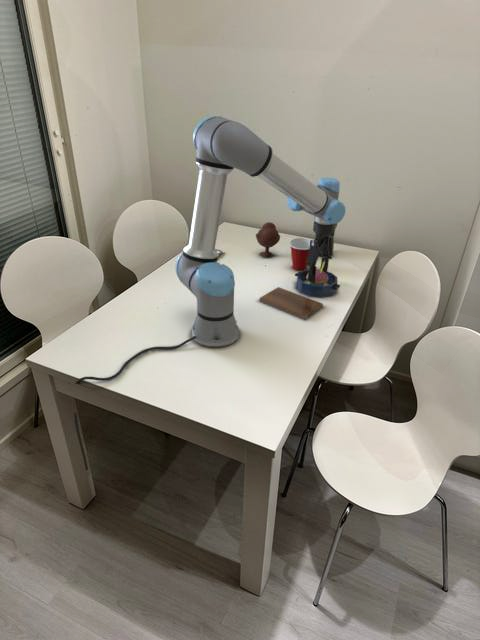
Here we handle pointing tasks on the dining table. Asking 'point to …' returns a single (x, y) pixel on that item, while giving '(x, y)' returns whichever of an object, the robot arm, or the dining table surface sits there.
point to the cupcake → (319, 277)
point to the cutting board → (291, 303)
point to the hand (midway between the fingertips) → (317, 277)
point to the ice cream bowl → (267, 238)
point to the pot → (316, 290)
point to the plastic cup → (299, 252)
